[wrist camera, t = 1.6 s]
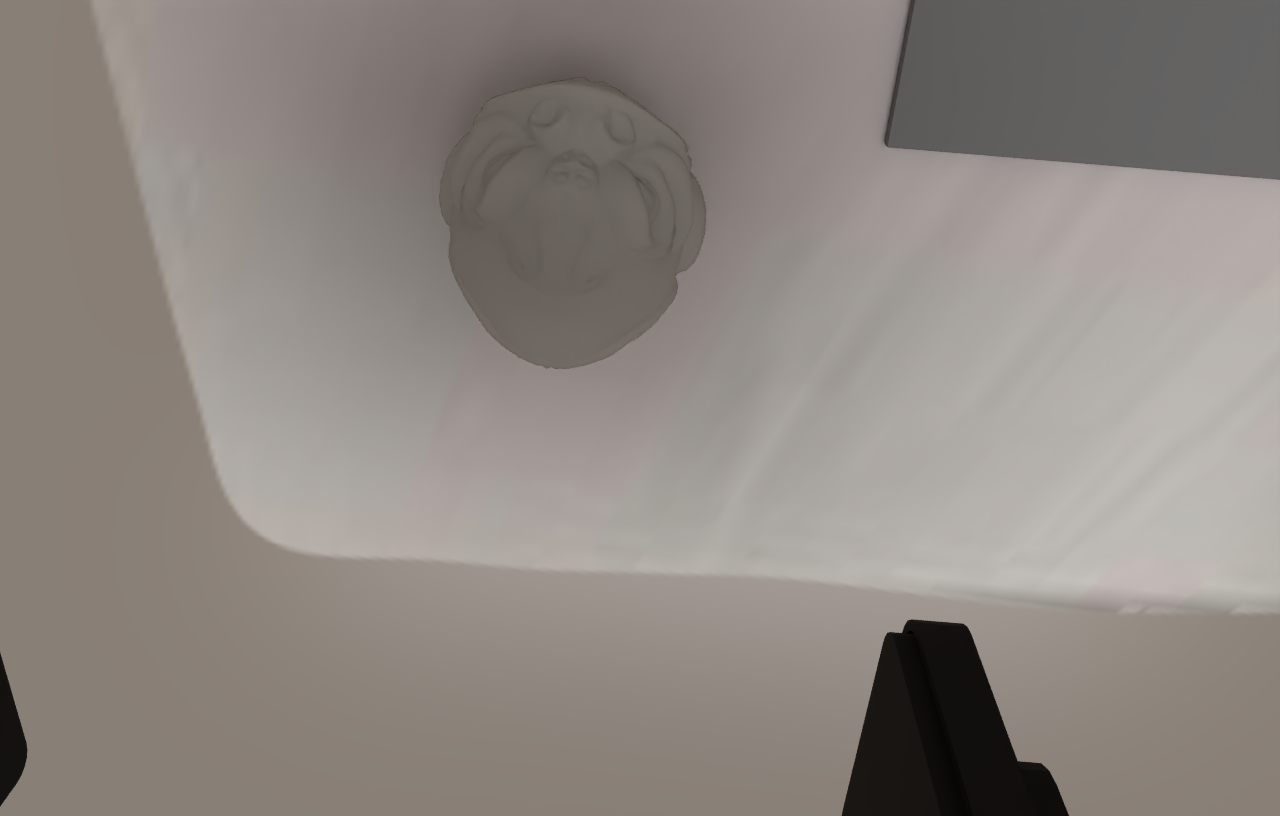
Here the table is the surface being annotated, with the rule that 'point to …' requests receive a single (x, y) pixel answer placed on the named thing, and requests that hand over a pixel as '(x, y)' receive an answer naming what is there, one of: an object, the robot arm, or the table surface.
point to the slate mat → (1095, 82)
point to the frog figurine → (570, 220)
